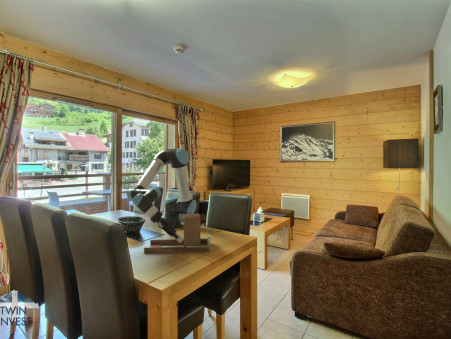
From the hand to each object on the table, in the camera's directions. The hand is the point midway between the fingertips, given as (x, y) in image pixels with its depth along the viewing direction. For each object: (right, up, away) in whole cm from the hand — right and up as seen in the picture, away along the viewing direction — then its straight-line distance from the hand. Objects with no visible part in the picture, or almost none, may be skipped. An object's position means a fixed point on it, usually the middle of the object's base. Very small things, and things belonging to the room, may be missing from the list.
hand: (181, 241), depth 148 cm
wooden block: (+6, -4, +2) cm, 8 cm away
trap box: (-2, -4, +1) cm, 5 cm away
